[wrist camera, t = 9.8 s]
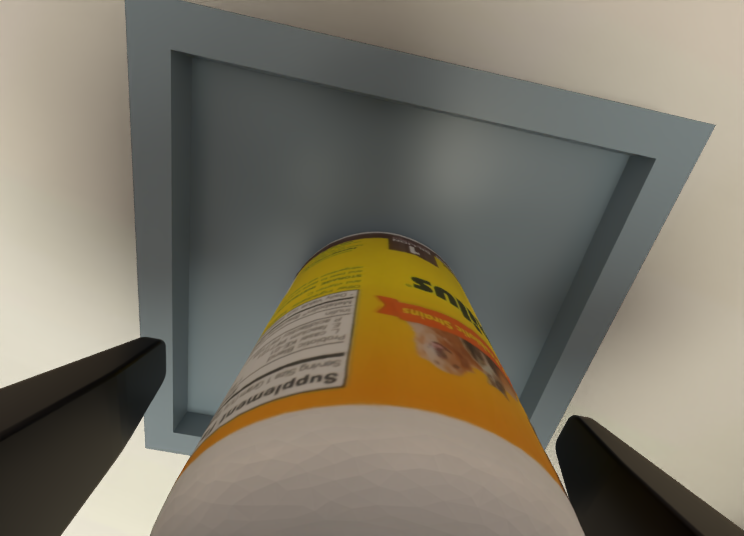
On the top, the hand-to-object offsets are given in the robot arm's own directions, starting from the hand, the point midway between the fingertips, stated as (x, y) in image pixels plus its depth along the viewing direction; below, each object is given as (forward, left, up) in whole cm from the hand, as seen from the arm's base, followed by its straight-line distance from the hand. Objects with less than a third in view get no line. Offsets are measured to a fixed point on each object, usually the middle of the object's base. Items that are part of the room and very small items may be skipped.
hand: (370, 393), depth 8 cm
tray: (0, 0, -5) cm, 5 cm away
